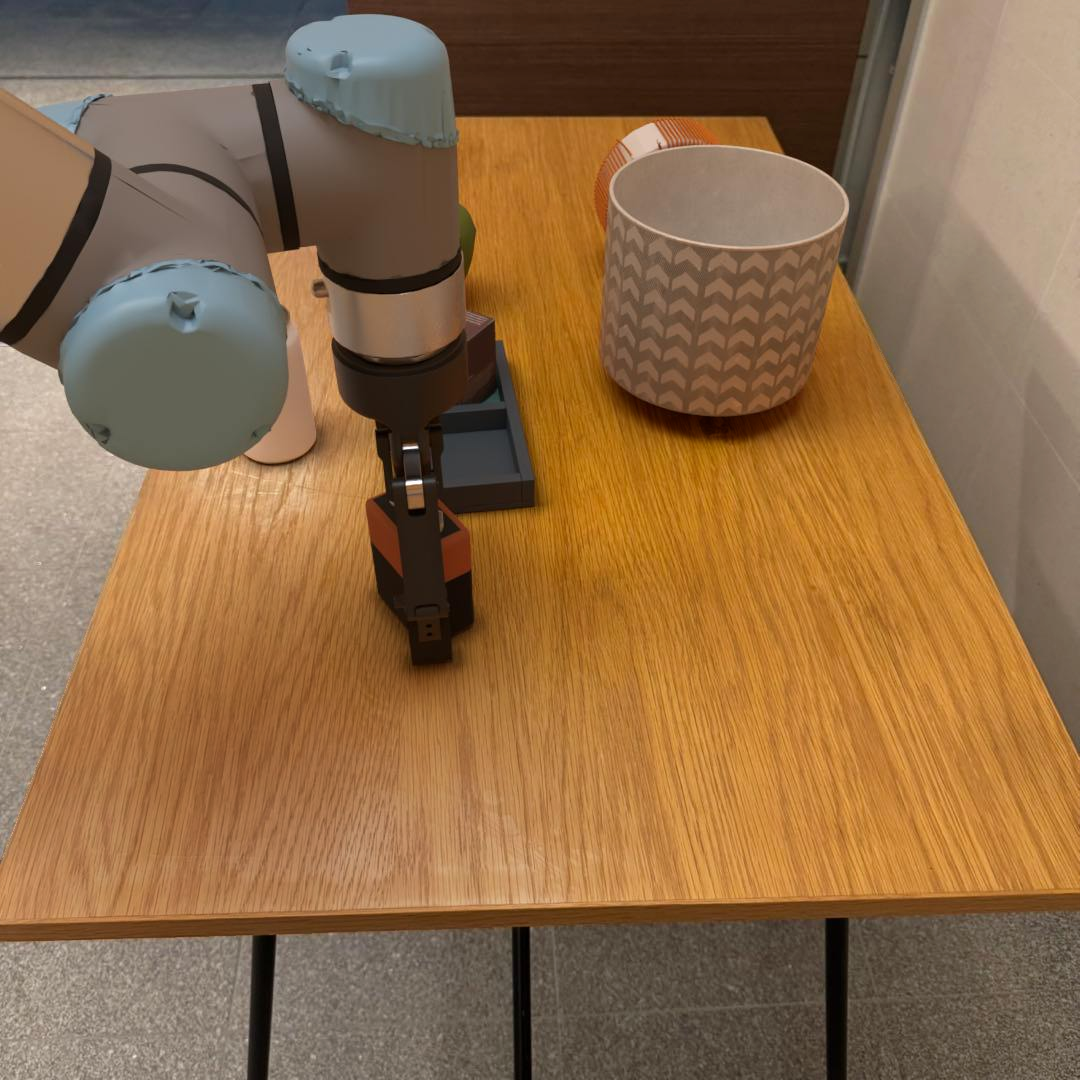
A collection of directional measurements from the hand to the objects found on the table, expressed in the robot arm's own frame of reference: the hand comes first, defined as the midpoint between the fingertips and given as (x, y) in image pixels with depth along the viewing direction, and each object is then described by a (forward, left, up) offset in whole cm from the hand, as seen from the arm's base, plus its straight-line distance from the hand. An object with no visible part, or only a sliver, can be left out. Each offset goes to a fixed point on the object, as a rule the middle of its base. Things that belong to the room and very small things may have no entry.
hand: (427, 606), depth 71 cm
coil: (+29, +47, 0) cm, 55 cm away
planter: (+27, +25, 0) cm, 37 cm away
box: (+4, +25, 0) cm, 25 cm away
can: (-11, +21, 0) cm, 24 cm away
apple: (+4, +42, 0) cm, 42 cm away
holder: (+4, +20, 0) cm, 20 cm away
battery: (0, 0, 0) cm, 0 cm away
